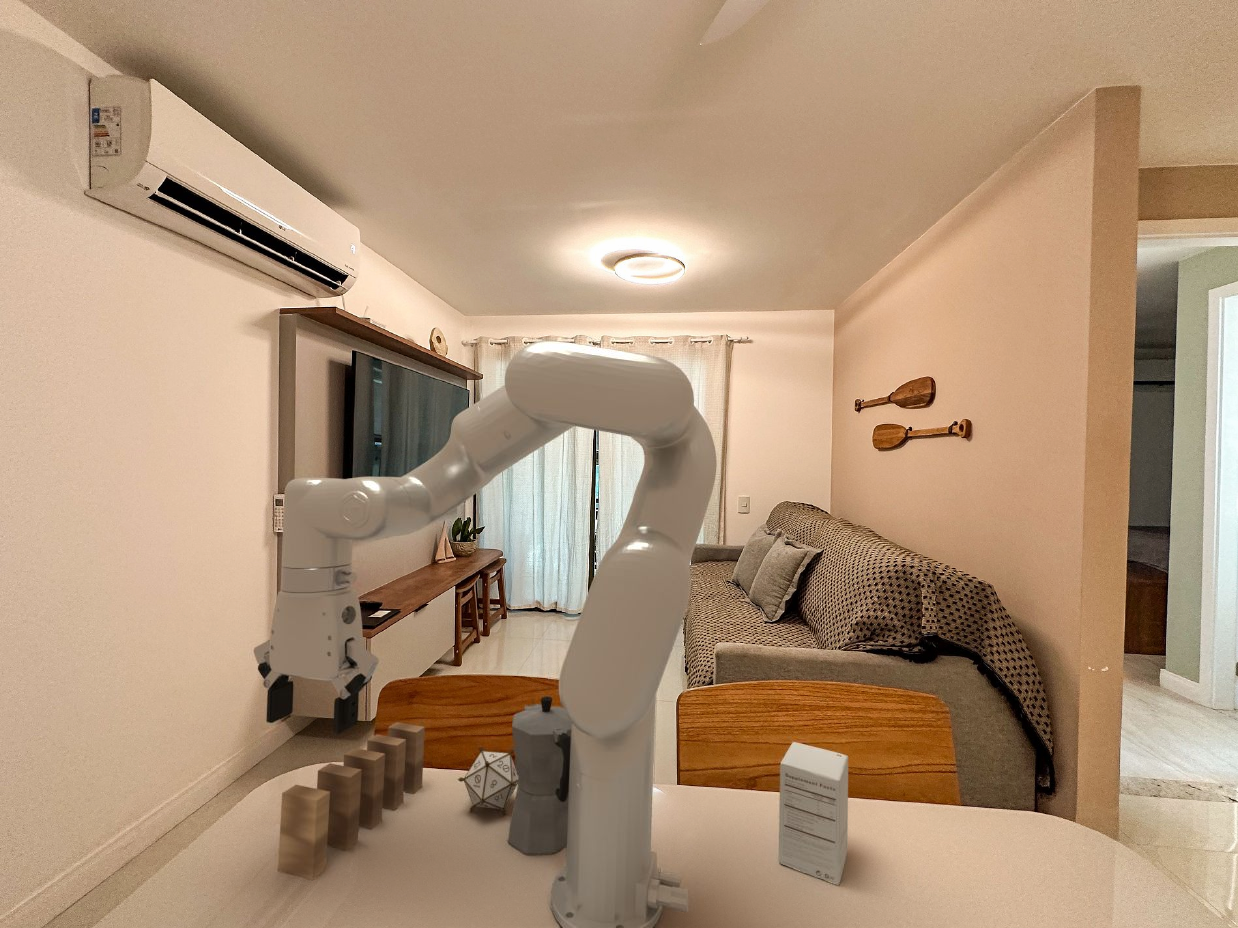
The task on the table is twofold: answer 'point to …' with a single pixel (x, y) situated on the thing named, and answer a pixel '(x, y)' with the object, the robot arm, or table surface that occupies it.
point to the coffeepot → (541, 779)
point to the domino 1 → (303, 831)
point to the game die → (491, 780)
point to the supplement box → (814, 811)
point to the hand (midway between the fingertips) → (312, 723)
